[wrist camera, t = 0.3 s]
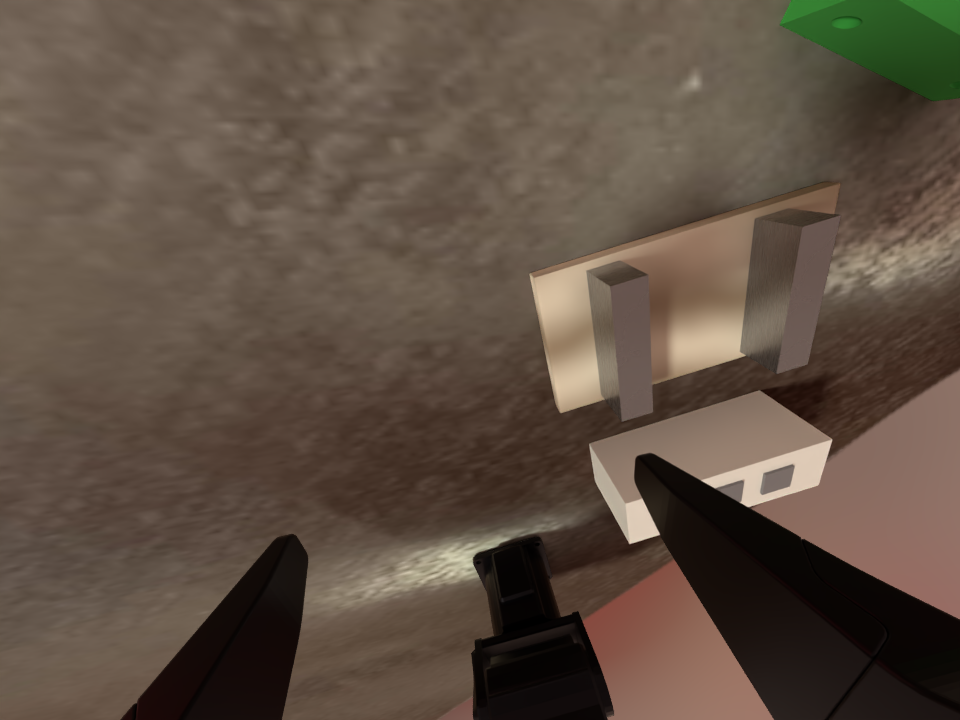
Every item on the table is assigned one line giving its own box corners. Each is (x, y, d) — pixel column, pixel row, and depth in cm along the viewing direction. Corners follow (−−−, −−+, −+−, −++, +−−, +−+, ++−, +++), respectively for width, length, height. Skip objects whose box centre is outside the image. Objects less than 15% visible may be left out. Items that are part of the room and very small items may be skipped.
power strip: (751, 430, 31) (821, 487, 26) (594, 480, 31) (630, 546, 26) (757, 389, 29) (835, 441, 24) (588, 442, 29) (627, 506, 24)
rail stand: (794, 330, 26) (852, 356, 23) (555, 404, 26) (576, 441, 23) (823, 182, 22) (901, 186, 18) (529, 273, 22) (550, 295, 18)
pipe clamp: (984, 16, 19) (1137, -22, 15) (927, 101, 20) (1051, 88, 16) (827, -83, 16) (963, -162, 12) (775, 25, 18) (880, -13, 14)
